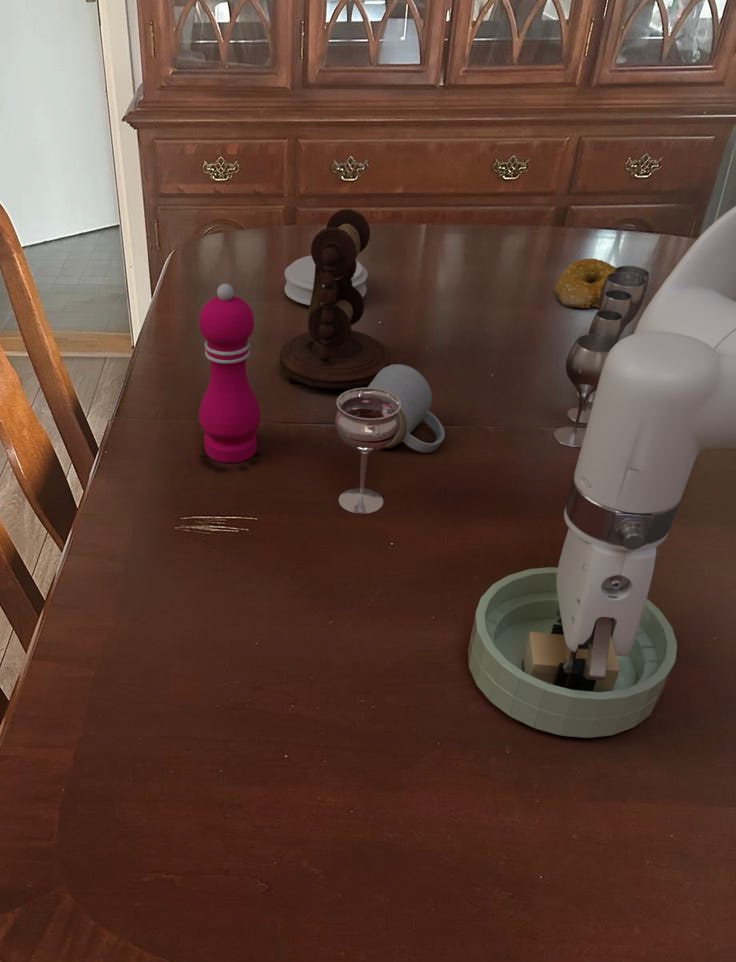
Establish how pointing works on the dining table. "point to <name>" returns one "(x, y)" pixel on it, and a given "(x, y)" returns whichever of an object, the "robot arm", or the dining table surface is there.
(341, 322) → the dark brown wooden stand
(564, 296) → the bagel
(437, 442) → the ceramic mug
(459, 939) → the dining table surface
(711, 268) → the robot arm
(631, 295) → the goblet set
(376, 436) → the wineglass
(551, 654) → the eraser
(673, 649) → the bowl
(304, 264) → the lid
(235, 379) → the pepper mill
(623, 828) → the dining table surface
